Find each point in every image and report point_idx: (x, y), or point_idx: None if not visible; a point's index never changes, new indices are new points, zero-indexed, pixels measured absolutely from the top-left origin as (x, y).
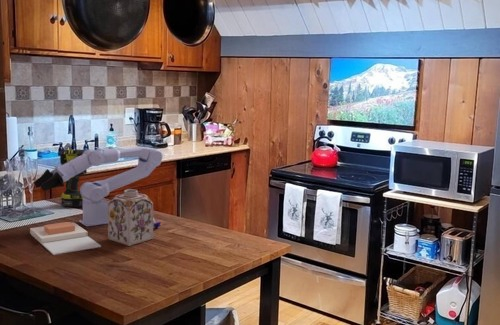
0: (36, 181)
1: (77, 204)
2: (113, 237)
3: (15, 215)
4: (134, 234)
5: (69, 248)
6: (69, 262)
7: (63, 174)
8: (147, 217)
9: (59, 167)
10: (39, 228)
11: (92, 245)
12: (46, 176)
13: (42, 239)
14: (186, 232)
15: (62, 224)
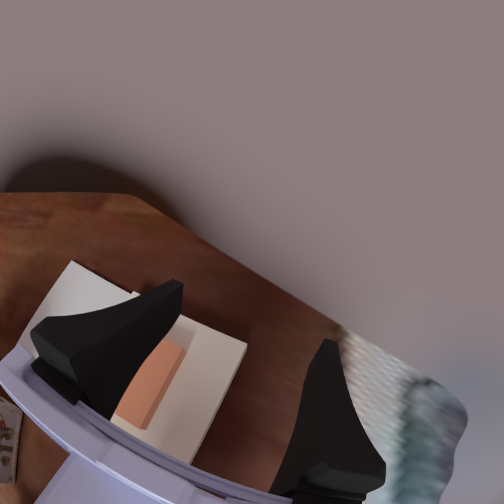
0: (323, 352)
1: None
2: (4, 401)
3: (452, 424)
4: None
5: (57, 302)
6: (33, 251)
7: (21, 382)
8: None
9: (114, 496)
10: (218, 360)
11: (25, 344)
12: (308, 435)
13: (132, 294)
14: None
15: (132, 386)
